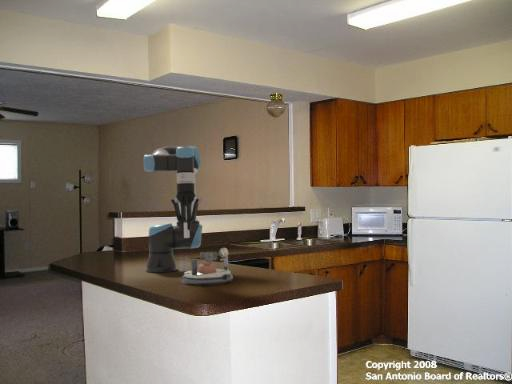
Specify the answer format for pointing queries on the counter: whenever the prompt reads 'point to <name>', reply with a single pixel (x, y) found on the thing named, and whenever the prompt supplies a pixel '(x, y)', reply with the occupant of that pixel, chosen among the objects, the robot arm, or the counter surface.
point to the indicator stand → (224, 254)
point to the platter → (195, 275)
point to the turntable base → (207, 281)
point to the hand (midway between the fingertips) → (186, 237)
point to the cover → (206, 268)
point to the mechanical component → (208, 256)
